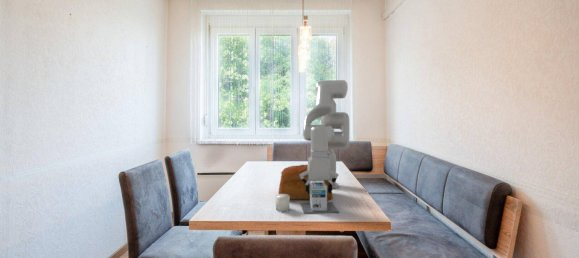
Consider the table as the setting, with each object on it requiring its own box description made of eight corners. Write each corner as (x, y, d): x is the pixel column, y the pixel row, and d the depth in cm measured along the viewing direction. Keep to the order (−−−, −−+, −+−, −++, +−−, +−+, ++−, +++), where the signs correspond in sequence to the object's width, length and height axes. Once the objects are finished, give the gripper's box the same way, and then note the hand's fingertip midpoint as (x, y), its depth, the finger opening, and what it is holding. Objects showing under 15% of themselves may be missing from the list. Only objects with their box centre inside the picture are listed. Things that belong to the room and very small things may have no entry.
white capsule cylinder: (275, 207, 122) (275, 194, 122) (288, 206, 123) (288, 193, 122) (276, 212, 116) (276, 198, 116) (290, 211, 117) (290, 197, 116)
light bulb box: (327, 211, 115) (327, 186, 115) (311, 211, 115) (311, 186, 115) (323, 202, 126) (324, 179, 125) (309, 202, 126) (309, 179, 125)
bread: (333, 201, 130) (334, 169, 129) (277, 201, 130) (277, 168, 129) (329, 191, 146) (329, 162, 145) (279, 191, 147) (279, 162, 146)
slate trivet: (300, 204, 126) (300, 202, 126) (332, 203, 127) (332, 201, 127) (303, 213, 114) (303, 212, 114) (338, 212, 115) (338, 211, 115)
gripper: (336, 153, 124) (335, 190, 125) (298, 153, 122) (298, 191, 123) (340, 155, 116) (340, 195, 117) (300, 156, 115) (300, 196, 116)
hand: (318, 192), depth 120 cm, fingers open, 9 cm apart
